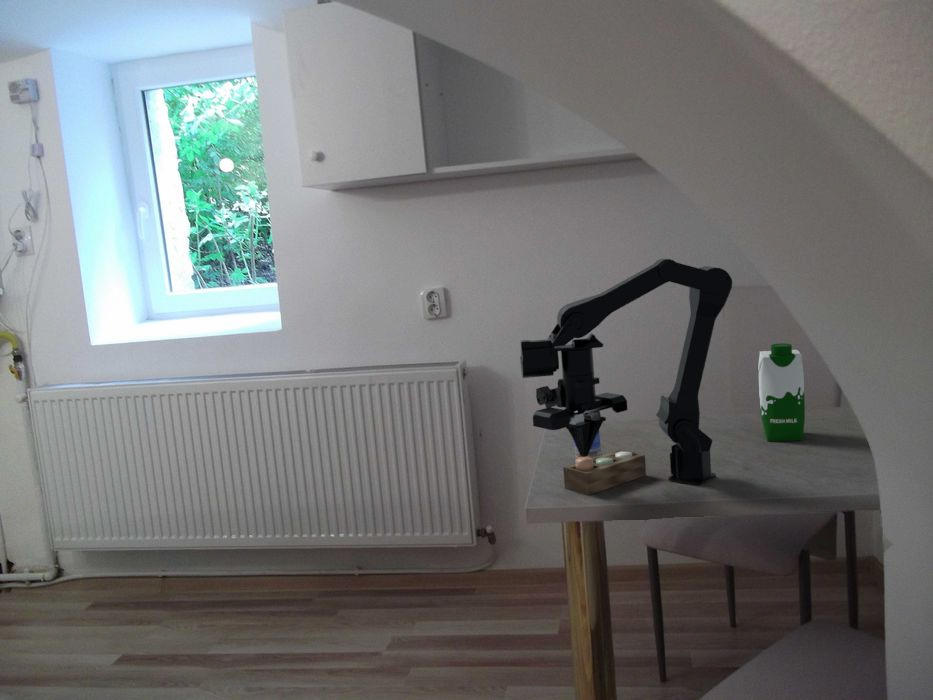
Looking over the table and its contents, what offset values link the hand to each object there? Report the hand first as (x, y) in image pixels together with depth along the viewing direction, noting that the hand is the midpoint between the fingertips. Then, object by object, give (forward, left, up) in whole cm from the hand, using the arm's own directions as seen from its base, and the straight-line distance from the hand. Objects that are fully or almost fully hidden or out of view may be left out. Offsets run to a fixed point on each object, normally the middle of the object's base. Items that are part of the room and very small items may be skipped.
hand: (584, 456), depth 155 cm
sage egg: (-1, -5, -4) cm, 6 cm away
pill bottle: (+12, -17, -6) cm, 22 cm away
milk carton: (-16, -48, -6) cm, 51 cm away
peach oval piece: (0, 0, -3) cm, 3 cm away
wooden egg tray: (-1, -5, -6) cm, 8 cm away
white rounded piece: (-2, -10, -4) cm, 11 cm away
